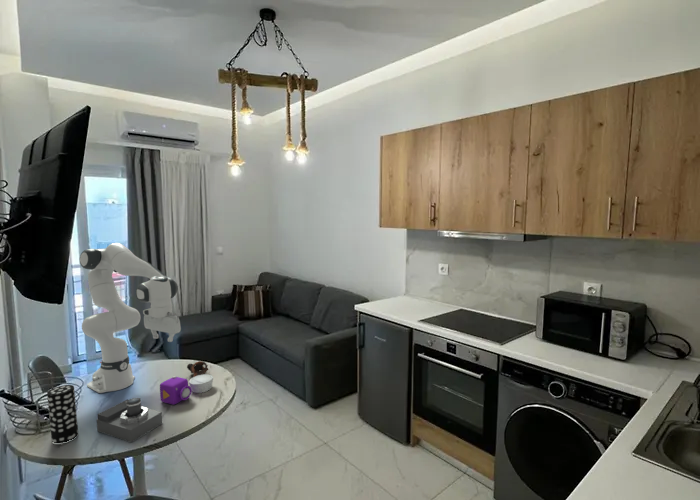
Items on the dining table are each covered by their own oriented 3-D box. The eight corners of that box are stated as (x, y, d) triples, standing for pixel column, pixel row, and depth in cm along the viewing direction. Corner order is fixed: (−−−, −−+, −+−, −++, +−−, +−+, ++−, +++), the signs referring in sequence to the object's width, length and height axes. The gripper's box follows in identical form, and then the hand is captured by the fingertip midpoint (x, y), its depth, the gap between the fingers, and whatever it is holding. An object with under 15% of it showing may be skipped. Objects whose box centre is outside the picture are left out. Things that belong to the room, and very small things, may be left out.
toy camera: (183, 407, 169) (182, 386, 168) (157, 404, 172) (155, 384, 171) (197, 396, 180) (196, 376, 179) (172, 393, 183) (171, 374, 182)
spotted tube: (48, 447, 141) (43, 396, 139) (55, 435, 149) (51, 387, 147) (75, 441, 145) (70, 392, 143) (80, 430, 152) (76, 383, 150)
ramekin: (185, 394, 181) (185, 384, 181) (195, 384, 193) (194, 374, 192) (208, 394, 182) (208, 383, 181) (216, 383, 193) (216, 374, 192)
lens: (124, 418, 151) (123, 401, 150) (136, 412, 156) (135, 396, 155) (132, 421, 149) (131, 404, 148) (144, 415, 154) (143, 398, 153)
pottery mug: (211, 371, 209) (211, 361, 205) (203, 385, 201) (203, 375, 197) (190, 365, 209) (190, 356, 205) (182, 379, 202) (181, 369, 197)
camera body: (97, 431, 151) (96, 413, 151) (129, 413, 164) (128, 397, 163) (131, 442, 144) (130, 423, 143) (162, 423, 156) (161, 406, 156)
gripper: (183, 312, 172) (184, 341, 173) (152, 307, 180) (154, 334, 182) (171, 315, 166) (173, 345, 168) (140, 310, 174) (142, 338, 176)
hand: (163, 339), depth 175 cm, fingers open, 8 cm apart
